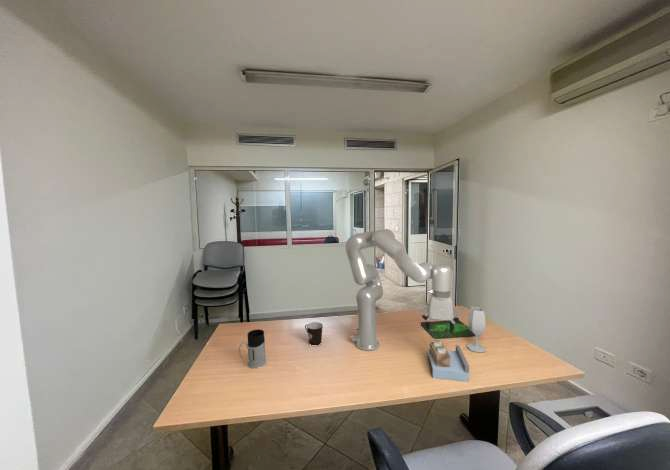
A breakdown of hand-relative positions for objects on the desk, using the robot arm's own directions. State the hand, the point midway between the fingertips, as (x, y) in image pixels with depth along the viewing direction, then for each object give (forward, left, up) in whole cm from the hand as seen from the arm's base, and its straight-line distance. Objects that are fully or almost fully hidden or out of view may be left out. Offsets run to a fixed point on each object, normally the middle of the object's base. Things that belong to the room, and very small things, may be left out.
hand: (439, 330), depth 118 cm
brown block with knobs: (0, 0, -14) cm, 14 cm away
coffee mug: (-63, +12, -18) cm, 66 cm away
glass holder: (-85, -15, -18) cm, 88 cm away
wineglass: (+21, +20, -18) cm, 34 cm away
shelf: (+3, 0, -18) cm, 18 cm away
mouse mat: (+11, +41, -18) cm, 47 cm away
